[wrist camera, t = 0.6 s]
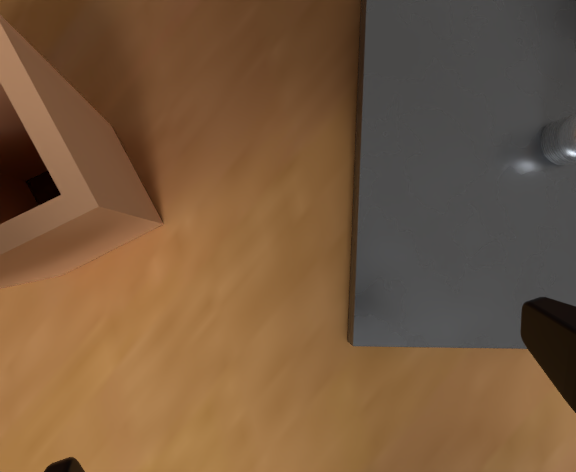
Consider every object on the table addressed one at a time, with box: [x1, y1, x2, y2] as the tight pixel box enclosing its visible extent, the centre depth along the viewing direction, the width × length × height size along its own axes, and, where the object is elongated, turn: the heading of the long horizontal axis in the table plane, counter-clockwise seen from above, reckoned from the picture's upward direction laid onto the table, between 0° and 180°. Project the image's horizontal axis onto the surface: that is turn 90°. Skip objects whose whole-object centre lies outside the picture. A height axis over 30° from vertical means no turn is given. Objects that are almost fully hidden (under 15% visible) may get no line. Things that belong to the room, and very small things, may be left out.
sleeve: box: [0, 15, 163, 289], centre depth 16 cm, size 5×5×11 cm
